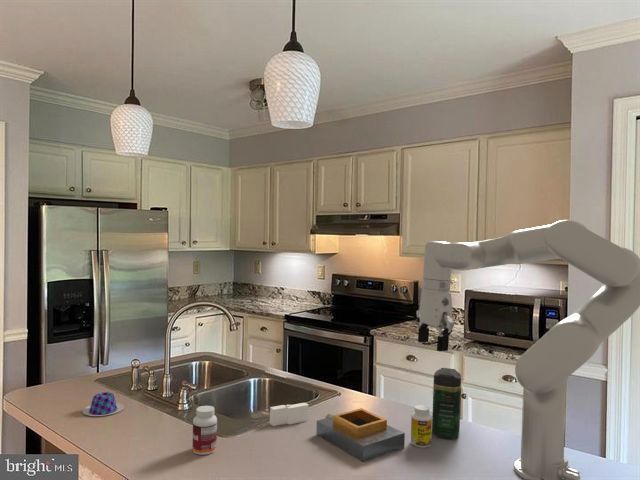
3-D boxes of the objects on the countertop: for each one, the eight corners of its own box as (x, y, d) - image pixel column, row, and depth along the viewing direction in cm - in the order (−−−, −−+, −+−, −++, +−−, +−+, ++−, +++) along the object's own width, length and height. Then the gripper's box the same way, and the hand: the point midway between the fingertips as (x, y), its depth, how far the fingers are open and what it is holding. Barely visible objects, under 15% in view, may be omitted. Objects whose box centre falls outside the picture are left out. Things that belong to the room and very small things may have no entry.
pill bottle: (190, 447, 127) (191, 405, 127) (214, 443, 129) (215, 403, 129) (193, 457, 121) (195, 414, 121) (218, 453, 124) (219, 411, 124)
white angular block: (314, 418, 151) (314, 399, 151) (308, 432, 140) (309, 412, 140) (267, 414, 153) (268, 396, 153) (258, 428, 142) (259, 409, 142)
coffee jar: (459, 442, 135) (461, 376, 135) (430, 437, 137) (432, 372, 137) (460, 429, 144) (462, 367, 144) (433, 425, 146) (435, 364, 146)
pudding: (129, 412, 151) (129, 396, 151) (88, 421, 143) (89, 404, 143) (116, 402, 160) (116, 386, 160) (77, 409, 152) (77, 393, 152)
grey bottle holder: (404, 447, 130) (405, 423, 130) (363, 461, 121) (363, 436, 121) (347, 419, 149) (348, 398, 149) (308, 429, 140) (308, 407, 140)
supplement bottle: (415, 449, 129) (416, 411, 129) (407, 440, 135) (408, 404, 135) (434, 447, 131) (435, 410, 130) (425, 439, 136) (426, 403, 136)
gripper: (466, 290, 127) (462, 354, 127) (430, 281, 143) (427, 338, 144) (442, 289, 124) (438, 355, 125) (408, 281, 141) (405, 339, 141)
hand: (432, 346), depth 134 cm, fingers open, 9 cm apart
